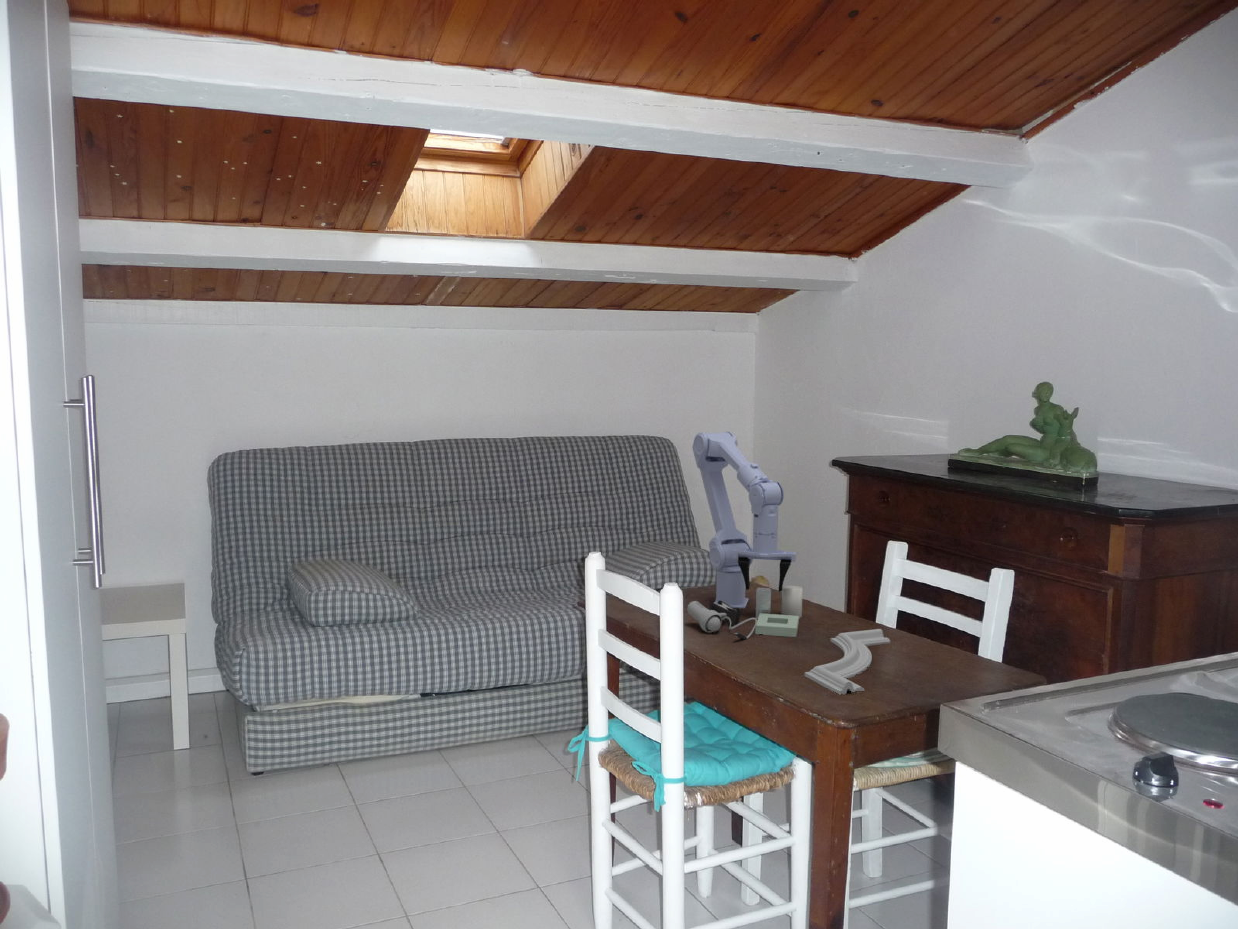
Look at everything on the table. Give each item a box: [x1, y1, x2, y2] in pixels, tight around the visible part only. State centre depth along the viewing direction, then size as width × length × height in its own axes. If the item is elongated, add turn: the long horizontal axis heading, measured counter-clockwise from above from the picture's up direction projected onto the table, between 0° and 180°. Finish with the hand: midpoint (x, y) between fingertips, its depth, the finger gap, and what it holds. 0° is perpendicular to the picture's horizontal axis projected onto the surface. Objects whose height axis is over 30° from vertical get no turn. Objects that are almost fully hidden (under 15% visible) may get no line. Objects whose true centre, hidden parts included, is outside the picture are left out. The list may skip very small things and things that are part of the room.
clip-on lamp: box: [686, 600, 757, 641], centre depth 223 cm, size 12×6×18 cm
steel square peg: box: [755, 587, 772, 619], centre depth 234 cm, size 3×3×7 cm
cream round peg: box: [780, 585, 804, 619], centre depth 236 cm, size 5×5×7 cm
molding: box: [804, 628, 891, 696], centre depth 201 cm, size 42×12×3 cm, turn 157°
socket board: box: [754, 613, 800, 638], centre depth 224 cm, size 11×9×2 cm
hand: (763, 589), depth 233 cm, fingers open, 7 cm apart
